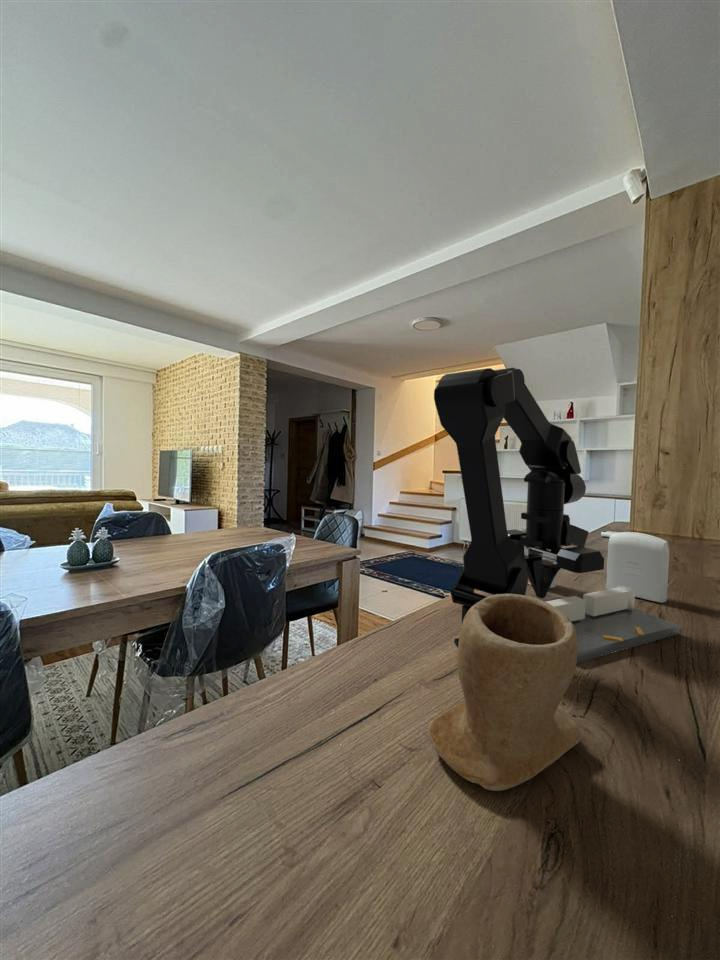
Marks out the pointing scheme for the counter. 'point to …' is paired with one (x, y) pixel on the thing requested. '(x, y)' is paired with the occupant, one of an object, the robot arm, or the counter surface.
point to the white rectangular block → (570, 607)
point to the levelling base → (618, 632)
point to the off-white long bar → (609, 600)
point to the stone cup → (509, 692)
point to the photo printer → (638, 564)
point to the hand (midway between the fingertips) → (540, 597)
